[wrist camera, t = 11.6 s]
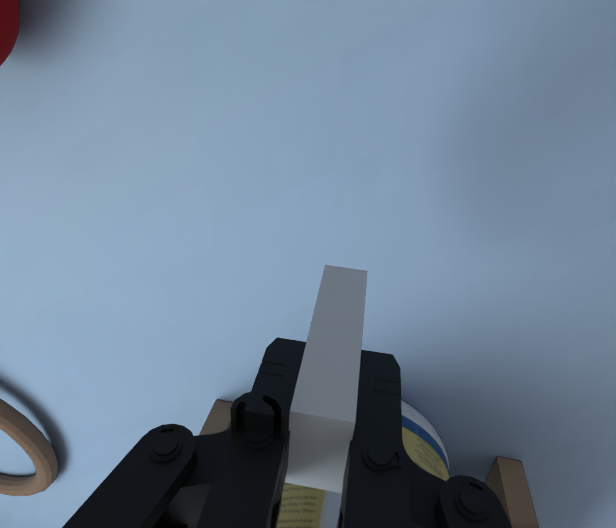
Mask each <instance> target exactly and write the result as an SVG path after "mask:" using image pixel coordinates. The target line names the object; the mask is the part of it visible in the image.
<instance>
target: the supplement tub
mask: <svg viewBox="0 0 616 528" xmlns="http://www.w3.org/2000/svg"><path fill="white" fill-rule="evenodd" d="M401 409H402V439H403V445H404V448H405V450H406V452H407V454H408V455H409V457H410V458H411V459H412V461H413V462H415V463H416V464H417V465H418V466H419V467H420V468H422V469H424V470H425V471H427V472H429V473H431V474H433V475H435V476H437V477H439V478H441V479H443V480H445V481H447V480H448V479H449V478H450V475H449V461H448V457H447V454H446V451H445V448H444V445H443V443H442V441H441V439H440V437H439V435H438V434H437V432H436V431H435V429H434V428H433V427H432V425H431V424H430V423H429V422H428V421H427V420H426V418H425V417H424V416H422V415H421V414H420V413H419V412H418V411H417V410H415V409H414V408H413V407H411V406H410V405H409V404H407V403H405V402H404V401H402V400H401ZM341 497H342V493H338V492H333V491H327V490H322V489H317V488H312V487H306V486H301V485H296V484H291V483H286V482H284V487H283V492H282V503H281V509H280V514H279V519H278V523H277V528H336V527H337V522H338V517H339V511H340V506H341Z"/></svg>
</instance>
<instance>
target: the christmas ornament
mask: <svg viewBox="0 0 616 528" xmlns="http://www.w3.org/2000/svg"><path fill="white" fill-rule="evenodd" d="M19 24H20V8H19V1H18V0H0V65H1V64H2V63H3V62H4V61H5V60H6V58H7V57H8V56H9V54H10V53H11V51H12V49H13V47H14V44H15V42H16V39H17V36H18V31H19Z"/></svg>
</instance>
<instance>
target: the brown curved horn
mask: <svg viewBox="0 0 616 528" xmlns="http://www.w3.org/2000/svg"><path fill="white" fill-rule="evenodd" d="M0 429H1V430H2V431H4V432H5V433H7V434H8V435H9V436H10V437H11V438H12V439H13V440H14V441H15V442H16V443H18V444H19V445H20V446H21V447H22V448H23V449H24V451H25V452H26V453H27V455H28V456H29V457H30V458H31V460H32V461H33V464H34V466H35V468H36V475H33V476H25V477H17V476H9V475H3V474H0V494H5V495H11V496H29V495H33V494H36V493H39V492H42V491H45V490H46V489H47V488H48V487H49V486H50V485H51V484H52V483H53V481H54V480H55V479H56V476H57V471H58V461H57V458H56V455H55V453H54V450H53V447H52V446H51V444H50V443H49V442H48V440H47V439H46V437H45V436H44V435H43V433H42V432H41V431H40V430H39V429H38V428H37V427H36V426H35V425H34V424H33V423H32V422H31V421H30V420H29V419H28V418H26V417H25V416H24V415H23V414H21V413H20V412H19V411H17V410H16V409H15V408H13V407H12V406H10V405H9V404H8V403H6V402H5V401H3V400H2V399H0Z"/></svg>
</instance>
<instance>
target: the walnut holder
mask: <svg viewBox="0 0 616 528" xmlns="http://www.w3.org/2000/svg"><path fill="white" fill-rule="evenodd" d="M232 404H233V403H231V402H226V401H221V400H216V401H215V403H214V405H213V407H212V409H211V411H210V413H209V415H208V417H207V419H206V422H205V424H204V426H203V428H202V430H201V432H200V434H199V435H207V434H214V433H218V432H222V431H224V430H227V429H229V428H230V427H231V417H230V407H231V406H232ZM485 484H486V485H487V486H488V487H489V488H490V489H491V490H492V491H494V493H495V494H496V496H497V497H498V499H499V500H500V502H501V504H502V506H503V508H504V510H505V512H506V515H507V517H508V519H509V521H510V523H511V525H512V528H539V525H538V521H537V517H536V513H535V510H534V506H533V502H532V498H531V495H530V491H529V487H528V483H527V479H526V476H525V472H524V468H523V464H522V461H517V460H512V459H507V458H502V457H496V460H495V462H494V464H493V466H492V468H491V471H490V473H489V475H488V477H487V479H486V481H485ZM196 526H197V525H196ZM195 528H196V527H195Z"/></svg>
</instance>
